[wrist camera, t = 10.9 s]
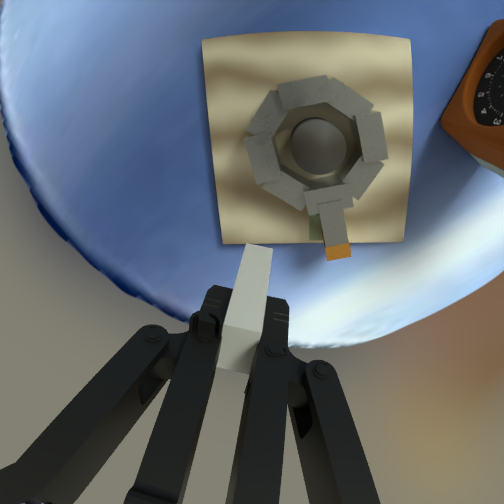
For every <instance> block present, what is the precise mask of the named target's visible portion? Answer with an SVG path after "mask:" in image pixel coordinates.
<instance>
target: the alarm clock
mask: <svg viewBox="0 0 504 504" xmlns="http://www.w3.org/2000/svg"><path fill="white" fill-rule="evenodd" d="M440 123H441V125H442V127H443V129H444V130H445V131H446V132H447V133H448V134H449V135H450V136H451V137H453V138H454V139H455V140H456V141H457V142H458V143H459V144H460V145H461V146H462V147H463V148H464V149H465V150H466V151H467V152H468V153H470V155H472V156H473V157H474V158H475V159H476V161H477V162H478V163H479V164H480V165H481V166H483V167H485V168H487V169H489V170H491V171H492V172H494V173H496V174H498V175H500V176H501V177H503V178H504V19H501V20H497V21H495V22H494V23H492V24H491V26H490V27H489V29H488V31H487V33H486V35H485V37H484V40H483V42H482V44H481V46H480V48H479V50H478V51H477V53H476V55H475V57H474V59H473V61H472V63H471V65H470V67H469V69H468V70H467V72H466V74H465V76H464V78H463V80H462V82H461V83H460V85H459V87H458V89H457V91H456V92H455V94H454V96H453V98H452V99H451V101H450V103H449V105H448V106H447V108H446V110H445V111H444V113H443V115H442V117H441V120H440Z"/></svg>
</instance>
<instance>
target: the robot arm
mask: <svg viewBox="0 0 504 504" xmlns="http://www.w3.org/2000/svg"><path fill="white" fill-rule="evenodd" d="M272 253H273V249H272V248H267V247H262V246H258V245H253V244H249V243H246V246H245V250H244V253H243V257H242V260H241V264H240V267H239V271H238V274H237V278H236V281H235V285H234V288H233V289H231V288H226V287H222V286H218V285H213V286H212V287H211V288H210V289H209V290H208V291H207V293H206V296H205V299H204V301H203V304H202V306H201V309H200V311H197V312H195V313H193V314H192V316H191V317H190V323H189V331H187V332H184V333H179V334H168V332H167V330H166V329H164V328H163V327H162V326H159V325H146V326H143V327H142V328H140V329H139V330H138V331H137V332H136V333H135V334H134V335H133V336H132V337H131V338H130V339H129V340H128V342H127V343H126V344H125V345H124V346H123V347H122V348H121V349H120V350H119V351H118V352H117V353H116V354H115V355H114V356H113V357H112V358H111V359H110V360H109V361H108V362H107V363H106V365H105V366H104V367H103V368H102V369H101V370H100V371H99V372H98V373H97V374H96V375H95V376H94V377H93V378H92V379H91V380H90V381H89V382H88V384H87V385H86V386H85V387H84V388H83V389H82V390H81V391H80V392H79V393H78V394H77V395H76V396H75V397H74V398H73V400H72V401H71V402H70V403H69V404H68V405H67V406H66V407H65V408H64V409H63V410H62V412H61V413H60V414H59V415H58V416H57V417H56V418H55V419H54V420H53V421H52V423H50V425H49V426H48V427H47V428H46V429H45V430H44V431H43V432H42V433H41V435H40V436H39V437H38V438H37V439H36V440H35V441H34V442H33V443H32V445H31V446H30V447H29V448H28V449H27V450H26V451H25V452H24V454H23V455H22V456H21V457H20V458H19V459H18V461H16V463H13V464H11V465H9V466H7V467H5V468H3V469H1V470H0V504H73V503H74V502H75V501H76V500H77V499H78V497H79V496H80V495H81V493H82V492H83V491H84V490H85V488H86V487H87V486H88V485H89V483H90V482H91V481H92V479H93V478H94V477H95V475H96V474H97V473H98V472H99V470H100V469H101V468H102V466H103V465H104V464H105V462H106V461H107V460H108V458H109V457H110V456H111V455H112V453H113V452H114V451H115V449H116V448H117V447H118V445H119V444H120V443H121V441H122V440H123V439H124V437H125V436H126V435H127V434H128V432H129V431H130V430H131V428H132V427H133V426H134V424H135V423H136V422H137V420H138V419H139V418H140V416H141V415H142V414H143V412H144V411H145V410H146V408H147V407H148V406H149V405H150V403H151V402H152V400H153V399H154V398H155V397H156V395H157V394H158V393H159V391H160V390H161V389H162V387H163V386H164V385H165V383H166V382H167V381H168V379H171V381H170V384H169V387H168V389H167V392H166V395H165V398H164V400H163V403H162V406H161V408H160V411H159V414H158V417H157V420H156V422H155V425H154V428H153V431H152V434H151V437H150V439H149V443H148V445H147V448H146V451H145V454H144V457H143V460H142V463H141V466H140V469H139V472H138V474H137V478H136V480H135V483H134V485H133V487H132V488H131V489H130V490H129V491H128V493H127V495H126V498H125V500H124V504H182V502H183V498H184V494H185V490H186V486H187V482H188V478H189V474H190V470H191V466H192V462H193V458H194V454H195V451H196V446H197V443H198V439H199V435H200V430H201V426H202V423H203V419H204V415H205V411H206V407H207V403H208V399H209V395H210V392H211V388H212V384H213V380H214V376H215V369H216V367H219V368H223V369H227V370H232V371H237V372H241V373H246V374H250V375H249V379H248V383H247V386H246V389H245V392H244V393H245V399H244V404H243V410H242V416H241V421H240V427H239V433H238V438H237V444H236V449H235V455H234V461H233V466H232V471H231V476H230V482H229V487H228V493H227V498H226V503H225V504H279V496H280V486H281V476H282V464H283V453H284V441H285V427H286V414H287V404H288V408H289V412H290V417H291V422H292V426H293V431H294V435H295V440H296V444H297V449H298V454H299V458H300V462H301V467H302V472H303V476H304V481H305V485H306V490H307V494H308V499H309V503H310V504H380V501H379V497H378V494H377V491H376V488H375V485H374V481H373V478H372V475H371V472H370V469H369V466H368V463H367V460H366V457H365V454H364V451H363V448H362V445H361V442H360V439H359V436H358V433H357V430H356V427H355V424H354V421H353V418H352V415H351V412H350V409H349V406H348V404H347V401H346V398H345V395H344V392H343V390H342V387H341V384H340V381H339V379H338V376H337V373H336V371H335V369H334V367H333V366H332V365H331V364H329V363H328V362H325V361H323V360H313V361H311V362H310V363H306V362H303V361H301V360H299V359H298V358H296V357H295V356H294V355H292V353H291V352H290V351H289V348H288V327H289V323H288V322H289V306H288V304H287V302H286V300H284V299H280V298H275V297H270V296H267V292H268V284H269V276H270V269H271V261H272Z"/></svg>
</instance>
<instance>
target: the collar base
mask: <svg viewBox="0 0 504 504" xmlns="http://www.w3.org/2000/svg"><path fill="white" fill-rule="evenodd" d="M202 51H203V63H204V74H205V85H206V96H207V107H208V117H209V127H210V136H211V146H212V155H213V164H214V173H215V182H216V191H217V199H218V207H219V216H220V224H221V232H222V240H223V244H246V243H249V244H265V243H324V241H323V236H322V226H321V220H320V215H319V214H315V215H310V216H309V215H308V210H307V206H306V205H305V207H304V208H303V210H302V211H300V210H298V209H296V208H295V207H293V206H291V205H290V204H288V203H286V202H285V201H283V200H281V199H280V198H278V197H276V196H275V195H273V194H271V193H270V192H268V191H266V190H264V189H263V188H262V185H263V183H261V184H256V181H255V177H254V174H253V170H252V167H251V163H250V160H249V156H248V153H247V149H246V146H245V142H244V138H245V137H246V136H247V135H248V134H249V133H250V132H248V131H246V129H247V127H248V125H249V124H250V122H251V120H252V119H253V117H254V115H255V114H256V112H257V110H258V109H259V107H260V105H261V104H262V102H263V101H264V99H265V97H266V96H267V94H268V92H269V91H270V89H271V90H273V91H275V92H277V93H278V94H279V92H278V89H277V84H282V83H286V82H291V81H296V80H301V79H306V78H311V77H317V76H322V75H327V78H328V80H329V78H332V77H334V78H336V79H337V80H339V81H340V82H342V83H344V84H345V85H347V86H348V87H349V88H351V89H352V90H354V91H355V92H357V93H358V94H360V95H361V96H362V97H364V98H365V99H367V100H368V101H369V102H371V103H372V104H373V105H374V106H373V108H372V109H371V110H374V111H378V112H381V116H382V122H383V127H384V133H385V139H386V145H387V151H388V158H389V159H387V160H381V162H382V163H384V164H385V165H384V166H383V167H382V169H381V170H380V172H379V173H378V174H377V176H376V177H375V179H374V180H373V181H372V183H371V184H370V186H369V187H368V188H367V190H366V191H365V192H364V194H363V195H362V197H361V198H360V199H359V201H358V200H357V199H355V198H354V197H352V198H353V204H354V207H352V208H347V209H343V210H344V216H345V222H346V229H347V236H348V240H349V243H359V242H403V238H404V231H405V224H406V216H407V207H408V198H409V188H410V176H411V161H412V141H413V77H412V58H411V45H410V39H404V38H398V37H390V36H382V35H373V34H363V33H350V32H329V31H286V32H265V33H252V34H241V35H232V36H223V37H216V38H209V39H202ZM274 137H275V141H276V145H277V149H278V152H279V156H280V160H281V164H283V165H284V166H286V167H288V168H289V169H291V170H292V171H294V172H296V173H297V174H299V175H301V176H302V177H304V178H305V179H307V180H311V179H316V178H321V177H326V176H332V175H337V174H339V172H340V171H341V169H342V168H343V166H344V165H345V164H346V162H347V161H348V159H349V158H350V156H351V155H352V154H353V152H354V151H355V146H354V140H353V135H352V130H351V125H350V121H349V119H348V118H347V117H345V116H344V115H342V114H341V113H339V112H338V111H336V110H335V109H333V108H332V107H330V106H329V105H327V104H326V103H324V102H323V103H318V104H313V105H308V106H302V107H298V108H293V109H290V110H289V112H288V113H287V115H286V116H285V118H284V120H283V121H282V123H281V124H280V126H279V128H278V129H277V131H276V132H275V134H274Z"/></svg>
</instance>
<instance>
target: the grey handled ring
mask: <svg viewBox="0 0 504 504" xmlns="http://www.w3.org/2000/svg"><path fill="white" fill-rule="evenodd" d="M277 89H278V92H279V94H278V93H277V92H275V91H273V90H271V89H270V91H269V92H268V94H267V96H266V97H265V99H264V101H263V102H262V104H261V105H260V107H259V109H258V110H257V112H256V114H255V115H254V117H253V119H252V120H251V122H250V124H249V125H248V127H247V129H246V131H248V132H250V133H249V134H248V135H247V136H246V137H245V138H244V142H245V146H246V149H247V153H248V156H249V160H250V163H251V167H252V170H253V174H254V177H255V181H256V184H261V183H263V185H262V188H263V189H264V190H266V191H268V192H270V193H271V194H273V195H275V196H276V197H278V198H280V199H281V200H283V201H285V202H286V203H288V204H290V205H291V206H293V207H295V208H296V209H298V210H300V211H302V210H303V208H304V207H305V205H306V206H307V210H308V215H309V216H310V215H315V214H319V215H320V220H321V226H322V236H323V241H324V246H325V252H326V257H327V261H330V260H336V259H341V258H346V257H351V250H350V243H349V240H348V236H347V229H346V222H345V216H344V210H343V209H347V208H352V207H354V204H353V198H352V197H354V198H355V199H357V200H358V201H359V199H360V198H361V197H362V195H363V194H364V192H365V191H366V190H367V188H368V187H369V186H370V184H371V183H372V181H373V180H374V179H375V177H376V176H377V174H378V173H379V172H380V170H381V169H382V167H383V166H384V165H385V164H384V163H382V162H381V160H387V159H389V158H388V151H387V145H386V139H385V133H384V127H383V122H382V116H381V112H378V111H374V110H371V109H372V108H373V106H374V105H373V104H372V103H371V102H369V101H368V100H367V99H365V98H364V97H362V96H361V95H360V94H358V93H357V92H355V91H354V90H352V89H351V88H349V87H348V86H347V85H345V84H344V83H342V82H340V81H339V80H337V79H336V78H334V77H332V78H329V80H328V78H327V75H322V76H317V77H311V78H306V79H301V80H296V81H291V82H286V83H282V84H277ZM323 102H324V103H326V104H327V105H329V106H330V107H332V108H333V109H335V110H336V111H338V112H339V113H341V114H342V115H344V116H345V117H347V118H348V119H349V121H350V125H351V130H352V135H353V140H354V146H355V151H354V152H353V154H352V155H351V156H350V158H349V159H348V161H347V162H346V164H345V165H344V166H343V168H342V169H341V171H340V172H339V174H337V175H332V176H326V177H321V178H316V179H311V180H307V179H305V178H304V177H302V176H301V175H299V174H297V173H296V172H294V171H292V170H291V169H289V168H288V167H286V166H284V165H283V164H281V160H280V156H279V152H278V149H277V145H276V141H275V137H274V134H275V132H276V131H277V129H278V128H279V126H280V124H281V123H282V121H283V120H284V118H285V116H286V115H287V113H288V112H289V110H290V109H293V108H298V107H302V106H308V105H313V104H318V103H323Z"/></svg>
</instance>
